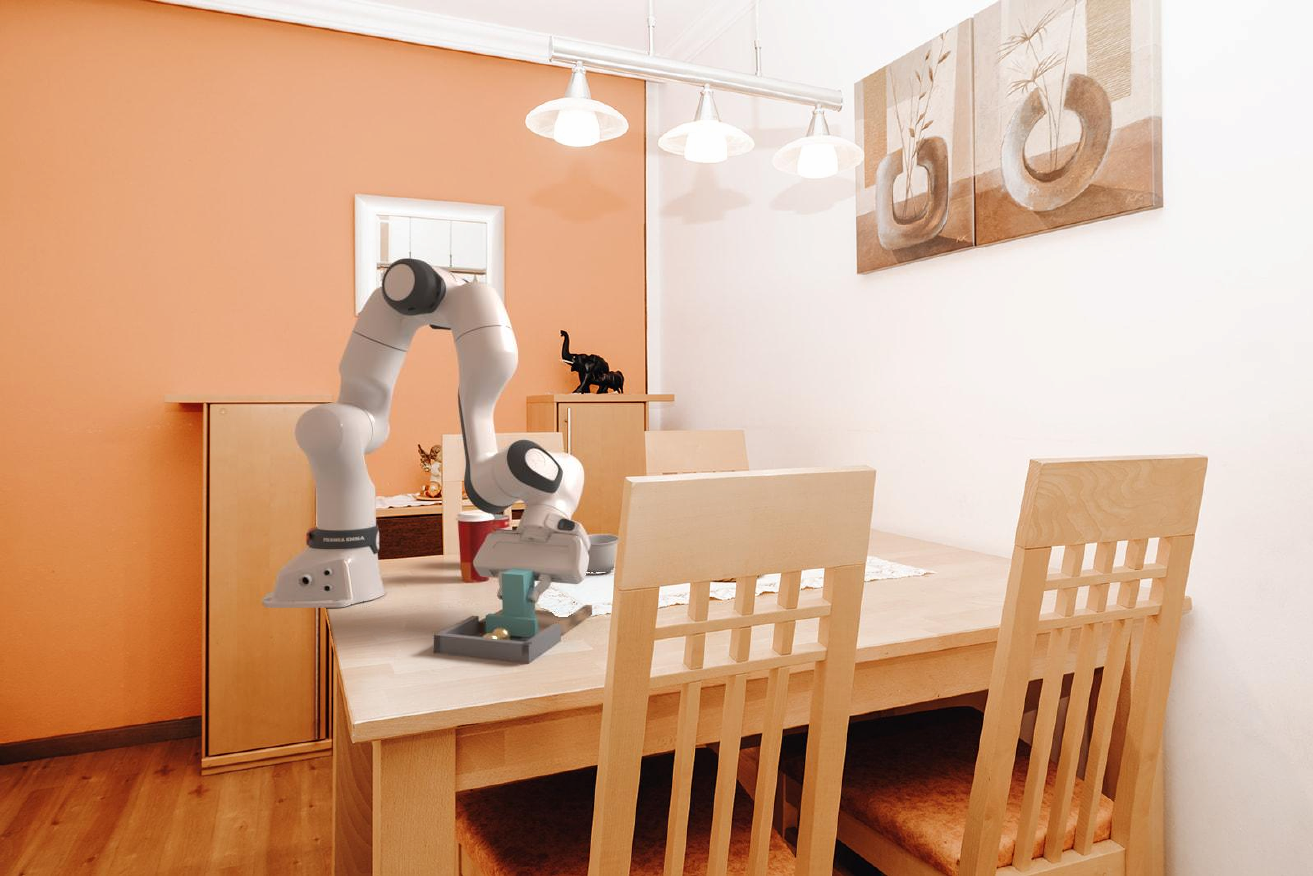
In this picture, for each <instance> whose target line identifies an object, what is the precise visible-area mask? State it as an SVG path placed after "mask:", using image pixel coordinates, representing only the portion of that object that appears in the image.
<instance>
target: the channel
mask: <svg viewBox="0 0 1313 876" xmlns="http://www.w3.org/2000/svg"><path fill="white" fill-rule="evenodd" d="M549 611H550V610H543V609H542V610H541V609H535V618H538V633H540V632H542V631H543V630H545V629H546V628H548V627H549V626H551V625H552V624H554V623H555V624H561V637H563V636H564V635H566V634H567V633H569V632H570V631H572V630H573V629H574V628H577V626H578V625H580V624H582V623H583V622H585V621H586V620H587V619H588V618H590V617H592V616H593V605H592V604H585V605H584V606H582V607H580V608H579V609H576V610H575V611H574V612H572V613H573V614H571V615H569V616H568V617H558V616H555V615H554V614H553V613H552V612H549ZM493 614H501V615H503V608H502V609H500V610H498V611H497V612H495V613H493ZM591 615H592V616H591ZM479 633H484V634H486V617H485V618H482V619H481V620H479ZM487 634H488V633H487ZM510 637H515V636H510ZM518 637H519V636H518ZM518 637H517V638H518ZM520 638H521V637H520ZM524 638H526V637H524ZM528 638H529V637H527V639H528ZM529 639H530V638H529Z"/></svg>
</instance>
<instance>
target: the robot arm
mask: <svg viewBox="0 0 1313 876" xmlns="http://www.w3.org/2000/svg"><path fill="white" fill-rule="evenodd" d="M424 326H429V327H430V328H431V329H432V330H445V331H451V334H452V337H453V342H454V346H455V351H456V356H457V362H458V364H457V365H458V377H459V378H458V379H459V380H458V389H457V390H458V392H457V402H458V403H457V404H458V412H459V413H458V414H459V421H460V428H461V429H460V430H461V434H462V443H463V449H464V457H465V459H464V460H465V470H464V471H465V472H464V477H463V478H464V479H463V487H464V491H465V494H466V496H467V498H468V500H469V501H470V502H471V504H472V505H474V507H475V508H476V509H477V510H481V511H483V512H486V513H490V514H492V515H497V514H500V513H502V512H504V511H505V510H507V509H508V508H510V507H511V506H513V505H514V504H515V503H517V502H519V501H522V502H523V503H524V505H525V507H524V511H522V512H523V513H522V515H521V517H520V521H519V523H518V525H517V528H516V529H510V530H503V529H498V530H496V531H494V532H492V533H490V534H488V535H487V537H486V539H485V541H484V543H483V544H482V546H481V548H480V549H479V551H478V553H477V555H476V556H475V558H474V561H473V565H474V567H475V569H476V571H477V572H478V574H479V575H480V576H482V577H489V578H493V579H497V580H498V585H499V588H498V590H497V593H496V594H497V595H496V596H497V598H498V599H499V600H500V601H501V600H502V573H504V572H506V571H508V570H510V569H512V568H515V569H529V570H533V572H534V577H535V582H538V583H537V584H536V585H535V587H534V589H530V588H529V590H528V594H527V596H526V599H527V600H528V602H533V603H535V604H536V603H538V602H539V600H540V596H541V595H542V594H543V593H545V592H546V591H547V590H548V589H550V586H551V584H552V583H556V584H557V583H558V584H568V585H569V584H570V585H580V584H581V583H582V582H583V581H585V578H586V576H587V573H586V572H587V568H588V563H589V555H588V551H589V549H590V541H589V538H588V536H587V535H588V533H587V531H586V529H585V527H584V526H583V525H582V524H581V522H578V521H576V520H573V519H572V516H573V514H574V513H575V511H576V510H577V508H578V506H579V503H580V500H581V496H582V494H583V489H584V486H585V485H584V484H585V469H584V467H583V465H582V462H580V460H578V458H576V457H575V456H573V455H571V454H570V453H567V452H563V451H557V452H554V451H553V452H552V451H549V450H547V449H544V447H542V446H541V445H540V444H538V443H536V442H534V441H532V440H529V439H518V440H516V441H514V442H512V443H511V444H508V445H507V446H505V447H503V448H502V449H500V450H499V449H498V444H497V443H498V442H497V437H496V430H495V423H494V413H495V412H494V411H495V408H496V407H495V406H496V404H497V402H498V400H499V399H500V396H501V395H502V392H503V391H504V389H505V388H506V387H507V385H508V383H509V382H510V381H511V379H512V378H513V376H514V374H515V372H516V370H517V368H518V364H519V349H518V344H517V343H518V342H517V340H516V336H515V332H514V329H513V326H512V324H511V321H510V317H509V314H508V312H507V309H506V307H505V305H504V303H503V301H502V298H501V297H500V295H499V293H498V291H497V289H495V287H493V286H492V285H491V284H489V283H487V282H483V281H468V280H466V279H465V278H462V277H460V276H458V275H457V274H455V273H453V272H452V271H450V270H448V269H446V268H444V267H443V268H442V267H439V266H437V265H434V264H429V263H428V262H426V261H423V260H421V259H417V258H412V257H411V258H409V257H408V258H407V257H406V258H400V259H397V260H396V261H394V262H392V263H391V264H390V265H389V266H388V267H387V269H386V270H385V271H384V274H383V277H382V280H381V286H379V287H377V288H376V289H374V290H373V292H371V294H370V296H369V297H368V298H367V300H366V302H365V304H364V305H363V307H362V309H361V311H360V313H359V315H358V316H357V319H356V321H355V323H354V326H353V328H352V330H351V333H350V335H349V336H350V337H349V339H348V341H347V343H346V346H345V348H344V351H343V354H342V356H341V360H340V361H339V364H338V372H339V374H340V386H339V387H340V389H339V394H338V398H337V401H336V402H335V403H332V402H331V403H330V402H329V403H323V404H322V403H321V404H319V405H316V406H315V407H312V408H309V409H308V410H306V411H305V412H304V413H302V414H301V415H300V417H299V418H298V420H297V422H296V424H295V427H294V435H295V441H296V444H297V445H298V446H299V448H300V450H302V452H303V453H304V454H305V455H306V458H307V460H308V465H309V467H310V470H311V473H312V477H313V483H314V487H315V493H316V494H315V497H316V498H315V499H316V501H315V502H316V526H311V527H309V529H308V530H307V532H306V534H305V541H306V542H305V543H306V546H307V547H305V548H304V549H303V550H301V551H300V552H299V553H298V554H297V555H295V556H294V557H293V558H291V559H290V560H289V561H288V562H287V563H285V564H284V565H283V566H281V568H280V570H279V571H278V573H277V577H276V579H275V586H274V589H273V590H271V591H269V592H268V593H266V594H265V595H264V596H263V598H262V600H261V601H262V602H261V603H262V604H261V605H262V606H263V607H265V608H268V609H269V608H272V609H273V608H274V609H275V608H276V609H277V608H280V609H281V608H282V609H284V608H285V609H286V608H287V609H288V608H289V609H292V608H293V609H294V608H298V609H299V608H303V609H304V608H305V609H306V608H308V609H309V608H311V609H312V608H317V609H318V608H344V607H345V608H346V607H349V606H351V604H352V605H355V604H359V603H362V602H363V601H364V602H367V601H372V600H375V599H378V598H380V597H382V596H384V595H385V594H386V590H385V586H384V583H383V579H382V576H381V569H380V564H379V555H378V553H379V550H380V531H379V525H378V524H377V501H376V500H377V499H376V497H377V494H376V486H375V484H374V482H373V481H372V479H371V477H370V474H369V471H368V467H367V464H366V461H365V459H366V458H365V456H367V455H370V454H372V453H374V452H376V450H378V449H380V448H381V447H383V445H385V444H386V442H387V441H388V439H389V436H390V432H391V426H390V422H389V418H390V412H391V408H392V407H391V406H392V400H393V394H394V389H395V387H396V383H397V380H398V377H399V376H400V372H401V370H402V368H403V365H404V363H405V360H406V357H407V355H408V352H409V349H410V347H411V344H412V341H413V338H414V336H415V334H416V333H417V331H418V330H420V328H422V327H424ZM498 450H499V451H498ZM364 602H363V603H364Z"/></svg>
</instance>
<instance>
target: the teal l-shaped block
mask: <svg viewBox="0 0 1313 876" xmlns="http://www.w3.org/2000/svg"><path fill="white" fill-rule="evenodd" d="M535 584H536V581H535V577H534V572H533V570H529V569H515V568H512V569H510V570H508V571H506V572H504V573H502V601H501V603H502V609H503V615H501V614H494V613H488V614H486V615H485V618H486V633H492V632H493V631H494V630H495V629H497V628H500V627H502V628H505V629H507V630H508V631H509V633H510V636H519V637H529V638H532V637H534V636H535V635H537V634H538V618H535V610H536V603H533V602H528V600H527V599H526V596H527V594H528V590H529V588H530V589H534V587H535V586H536V585H535Z"/></svg>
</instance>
